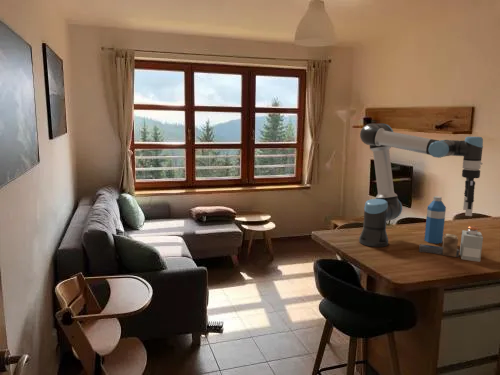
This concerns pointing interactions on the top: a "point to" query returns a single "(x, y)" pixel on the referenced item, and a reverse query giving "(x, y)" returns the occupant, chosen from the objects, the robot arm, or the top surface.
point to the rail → (433, 249)
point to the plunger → (472, 230)
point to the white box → (471, 246)
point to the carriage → (450, 245)
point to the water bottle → (435, 221)
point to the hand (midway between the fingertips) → (467, 212)
